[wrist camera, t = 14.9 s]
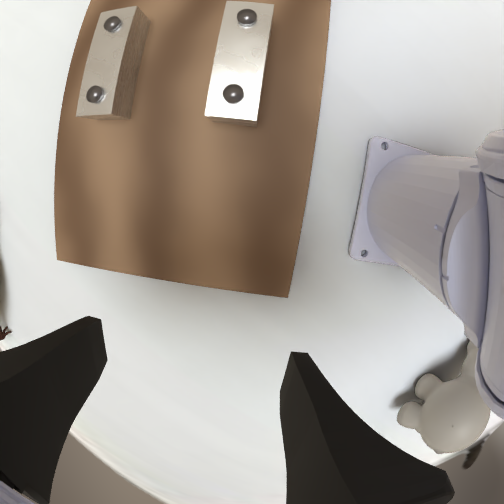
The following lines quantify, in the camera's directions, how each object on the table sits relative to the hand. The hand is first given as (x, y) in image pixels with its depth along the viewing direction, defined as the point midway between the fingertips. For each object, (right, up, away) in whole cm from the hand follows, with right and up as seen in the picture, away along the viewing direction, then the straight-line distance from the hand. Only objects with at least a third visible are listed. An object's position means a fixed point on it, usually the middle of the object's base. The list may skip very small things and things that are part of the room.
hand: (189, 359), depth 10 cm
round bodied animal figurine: (+21, -8, +12) cm, 26 cm away
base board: (-2, +16, +5) cm, 17 cm away
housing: (-2, +15, +4) cm, 16 cm away
